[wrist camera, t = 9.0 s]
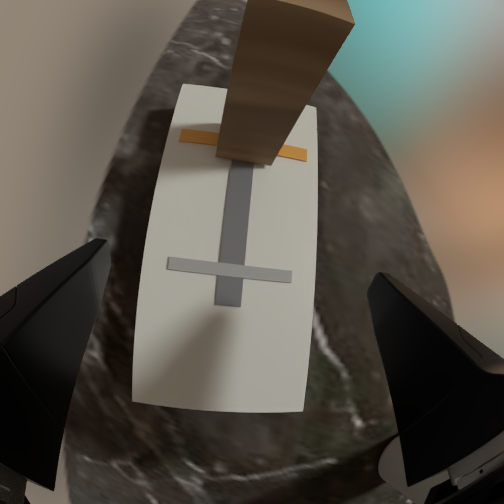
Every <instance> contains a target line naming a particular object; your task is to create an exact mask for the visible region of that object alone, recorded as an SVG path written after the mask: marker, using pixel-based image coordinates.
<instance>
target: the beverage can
mask: <svg viewBox="0 0 504 504" xmlns="http://www.w3.org/2000/svg"><path fill="white" fill-rule="evenodd" d="M378 471H379V475H380V477H381V478H382V479H383V480H384V481H386V482H387V483H388V484H390V485H391V486H393V487H394V488H395V489H397V490H398V491H399V492H401V493H402V494H403V495H405V496H406V497H408V498H409V499H410V500H412V501H413V502H414V503H416V504H424V502H425V500H426V498H427V495H428V493H429V491H430V488H432V487H434V486H436V485H438V484H440V483H442V482H444V481H446V480H448V479H450V477H449V474H448V471H447V470H446V471H444V472H442V473H440V474H438V475H436V476H434V477H431V478H429V479H427V480H425V481H422V482H420V483H418V484H415V485H413V486H410V487H407V484H406V477H405V470H404V463H403V457H402V451H401V445H400V439H399V436H398V437H396V438H395V439H393V440H392V441H391V442H390V443H389V444H388V445H387V447H386V448H385V449H384V451H383V453H382V454H381V457H380V460H379V464H378Z"/></svg>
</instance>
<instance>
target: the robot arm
mask: <svg viewBox="0 0 504 504" xmlns="http://www.w3.org/2000/svg"><path fill="white" fill-rule="evenodd" d="M110 266H111V259H110V249H109V242H108V240H106V239H98V238H96V239H94V240H92V241H90V242H88V243H87V244H85V245H83V246H81V247H79V248H78V249H76V250H74V251H73V252H71V253H69V254H67V255H66V256H64V257H62V258H60V259H59V260H57V261H55V262H54V263H52V264H50V265H49V266H47V267H46V268H44V269H42V270H41V271H39V272H37V273H36V274H34V275H32V276H31V277H29V278H28V279H26V280H25V281H23V282H21V283H20V284H18V285H17V287H14V288H12V289H11V290H9V291H8V292H6V293H5V294H3V295H2V296H0V504H30V503H29V501H28V499H27V498H26V496H25V490H26V483H27V481H30V482H32V483H34V484H36V485H39V486H41V487H44V488H46V489H49V490H51V491H54V488H55V481H56V473H57V467H58V460H59V454H60V448H61V443H62V438H63V433H64V427H65V423H66V418H67V414H68V410H69V406H70V402H71V398H72V394H73V390H74V386H75V383H76V379H77V376H78V372H79V369H80V365H81V362H82V359H83V356H84V352H85V349H86V346H87V343H88V340H89V337H90V334H91V331H92V328H93V326H94V323H95V320H96V317H97V314H98V311H99V308H100V305H101V301H102V297H103V293H104V289H105V285H106V282H107V278H108V274H109V271H110ZM367 298H368V303H369V308H370V313H371V318H372V323H373V328H374V333H375V336H376V340H377V344H378V347H379V351H380V355H381V358H382V362H383V366H384V370H385V374H386V378H387V382H388V386H389V390H390V395H391V399H392V404H393V408H394V413H395V418H396V423H397V428H398V433H399V439H400V445H401V451H402V457H403V463H404V470H405V477H406V484H407V487H410V486H413V485H415V484H418V483H420V482H422V481H425V480H427V479H429V478H431V477H434V476H436V475H438V474H440V473H442V472H444V471H446V470H447V471H448V474H449V477H450V479H448V480H446V481H444V482H442V483H440V484H438V485H436V486H434V487H432V488H430V491H429V493H428V495H427V498H426V500H425V502H424V504H504V359H503V358H502V357H500V356H499V355H498V354H496V353H495V352H493V351H492V350H491V349H490V348H488V347H487V346H485V345H484V344H483V343H481V342H480V341H479V340H477V339H476V338H475V337H473V336H472V335H471V334H469V333H468V332H467V331H465V330H464V329H463V328H462V327H460V326H459V325H457V324H456V323H455V322H454V321H453V320H451V319H450V318H449V317H447V316H446V315H445V314H443V313H442V312H441V311H439V310H438V309H437V308H436V307H434V306H433V305H431V304H430V303H429V302H427V301H426V300H425V299H423V298H422V297H421V296H419V295H418V294H417V293H415V292H414V291H412V290H411V289H410V288H408V287H407V286H405V285H404V284H403V283H401V282H400V281H398V280H397V279H396V278H394V277H393V276H391V275H390V274H388V273H383V272H379V273H377V274H376V275H375V277H374V279H373V281H372V283H371V285H370V287H369V289H368V291H367Z"/></svg>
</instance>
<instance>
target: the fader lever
mask: <svg viewBox="0 0 504 504" xmlns="http://www.w3.org/2000/svg"><path fill="white" fill-rule="evenodd" d="M354 25H355V22H354V19H353V16H352V13H351V10H350V7H349V5H348V2H347V0H248V1H247V5H246V9H245V13H244V17H243V21H242V25H241V30H240V34H239V38H238V42H237V47H236V51H235V56H234V60H233V65H232V70H231V74H230V79H229V84H228V89H227V94H226V99H225V104H224V109H223V115H222V120H221V126H220V131H219V137H218V143H217V149H216V155H215V157H218V158H225V159H232V160H239V161H245V162H251V163H257V164H263V165H269V166H271V165H272V164H273V162H274V160H275V158H276V157H277V155H278V153H279V151H280V150H281V148H282V146H283V144H284V143H285V141H286V139H287V137H288V136H289V134H290V132H291V130H292V129H293V127H294V125H295V123H296V122H297V120H298V118H299V117H300V115H301V113H302V111H303V110H304V108H305V106H306V105H307V103H308V101H309V99H310V98H311V96H312V94H313V93H314V91H315V89H316V88H317V86H318V84H319V83H320V81H321V79H322V78H323V76H324V74H325V72H326V71H327V69H328V67H329V66H330V64H331V62H332V61H333V59H334V58H335V56H336V54H337V52H338V51H339V49H340V48H341V46H342V44H343V43H344V41H345V40H346V38H347V36H348V35H349V33H350V31H351V30H352V28H353V27H354Z"/></svg>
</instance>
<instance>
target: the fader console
mask: <svg viewBox="0 0 504 504" xmlns="http://www.w3.org/2000/svg"><path fill="white" fill-rule="evenodd" d="M226 94H227V89H223V88H215V87H208V86H199V85H189V84H183V85H182V88H181V91H180V95H179V98H178V101H177V105H176V108H175V111H174V115H173V118H172V122H171V126H170V129H169V133H168V137H167V141H166V145H165V149H164V153H163V157H162V161H161V165H160V170H159V174H158V178H157V183H156V188H155V193H154V197H153V203H152V208H151V213H150V218H149V224H148V230H147V236H146V242H145V248H144V255H143V262H142V269H141V277H140V285H139V294H138V303H137V313H136V325H135V338H134V354H133V377H132V401H133V402H139V403H145V404H152V405H159V406H167V407H175V408H184V409H195V410H207V411H223V412H300V411H303V406H304V398H305V390H306V382H307V373H308V363H309V353H310V342H311V331H312V318H313V304H314V288H315V270H316V247H317V208H318V154H317V116H316V107H312V106H308V105H306V106H305V108H304V110H303V111H302V113H301V115H300V117H299V118H298V120H297V122H296V123H295V125H294V127H293V129H292V130H291V132H290V134H289V136H288V137H287V139H286V141H285V143H284V144H283V146H282V148H281V150H280V151H279V153H278V155H277V157H276V158H275V160H274V162H273V164H272V165H271V166H269V165H263V164H257V163H251V162H245V161H239V160H232V159H225V158H218V157H215V155H216V149H217V143H218V137H219V131H220V126H221V120H222V115H223V109H224V104H225V99H226Z"/></svg>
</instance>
